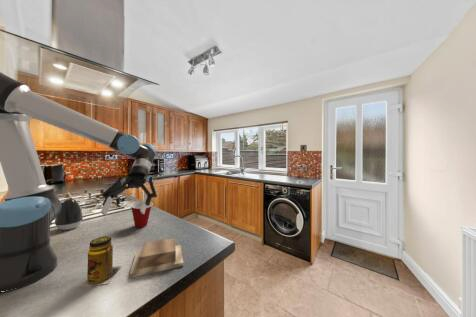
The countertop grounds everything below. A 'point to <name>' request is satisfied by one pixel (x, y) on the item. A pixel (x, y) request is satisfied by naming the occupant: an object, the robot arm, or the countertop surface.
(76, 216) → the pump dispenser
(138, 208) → the plastic cup
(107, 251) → the condiment
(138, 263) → the base board
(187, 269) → the countertop surface
